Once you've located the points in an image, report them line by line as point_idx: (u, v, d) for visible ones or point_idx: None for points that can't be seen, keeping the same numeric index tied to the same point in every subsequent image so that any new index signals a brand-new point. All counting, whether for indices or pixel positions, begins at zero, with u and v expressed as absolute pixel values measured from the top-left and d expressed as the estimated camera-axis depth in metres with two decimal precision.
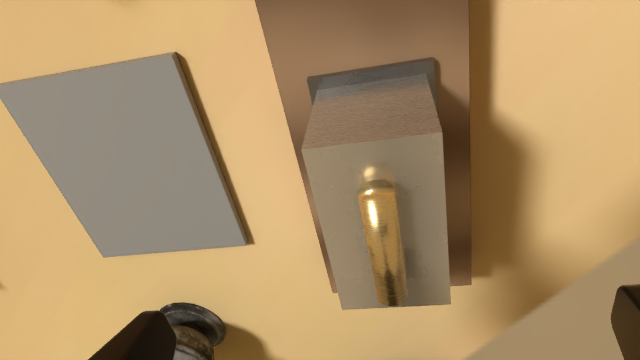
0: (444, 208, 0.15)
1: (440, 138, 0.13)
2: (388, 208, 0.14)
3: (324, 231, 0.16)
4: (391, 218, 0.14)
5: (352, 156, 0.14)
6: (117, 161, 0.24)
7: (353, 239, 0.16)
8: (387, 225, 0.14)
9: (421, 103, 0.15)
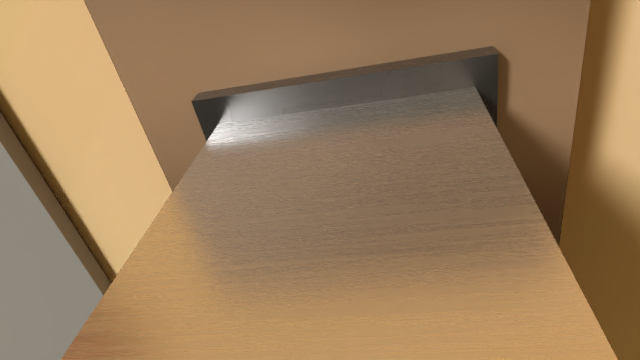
0: None
1: None
2: None
3: None
4: None
5: None
6: None
7: None
8: None
9: (485, 184, 0.05)
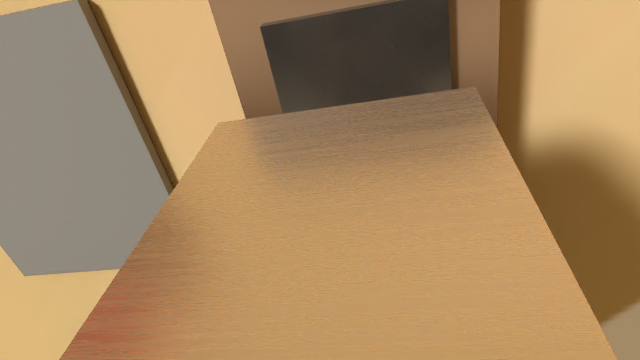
0: None
1: None
2: None
3: None
4: None
5: None
6: (24, 152, 0.18)
7: None
8: None
9: (483, 182, 0.05)
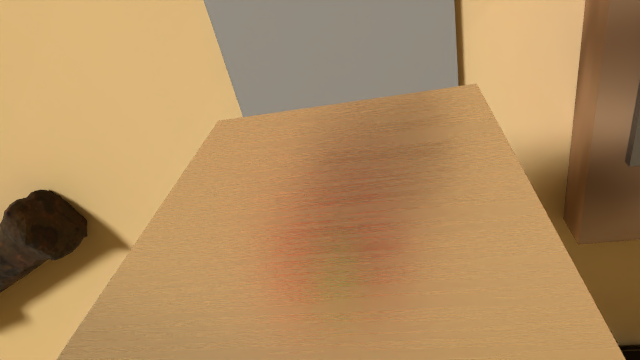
0: None
1: None
2: None
3: None
4: None
5: None
6: (330, 76, 0.19)
7: None
8: None
9: (486, 180, 0.05)
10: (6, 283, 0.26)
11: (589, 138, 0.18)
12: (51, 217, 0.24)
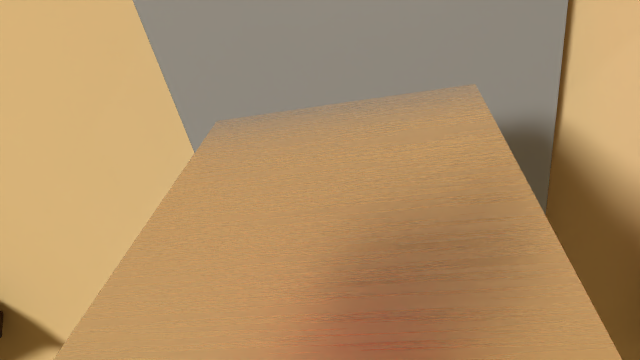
0: None
1: None
2: None
3: None
4: None
5: None
6: None
7: None
8: None
9: (484, 180, 0.05)
10: None
11: None
12: None
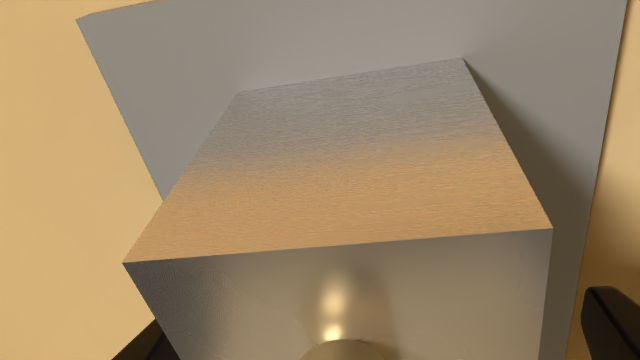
0: None
1: (544, 246, 0.04)
2: None
3: None
4: None
5: (270, 284, 0.05)
6: None
7: None
8: None
9: (464, 124, 0.06)
10: None
11: None
12: None
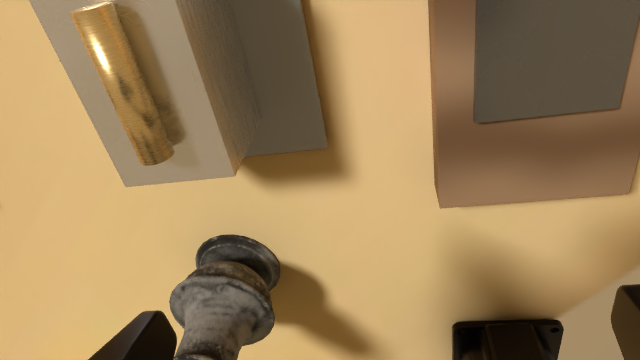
0: (187, 41, 0.13)
1: None
2: (101, 25, 0.12)
3: (72, 78, 0.14)
4: (111, 41, 0.12)
5: None
6: None
7: (105, 88, 0.14)
8: (106, 49, 0.12)
9: None
10: None
11: (435, 92, 0.17)
12: None
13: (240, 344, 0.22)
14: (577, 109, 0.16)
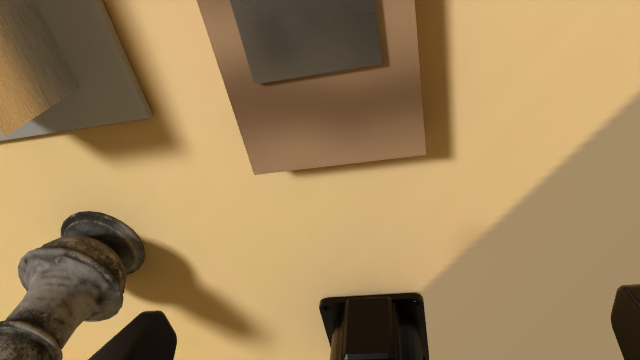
0: None
1: None
2: None
3: None
4: None
5: None
6: None
7: None
8: None
9: None
10: None
11: None
12: None
13: (78, 315, 0.23)
14: (344, 66, 0.17)
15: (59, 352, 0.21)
